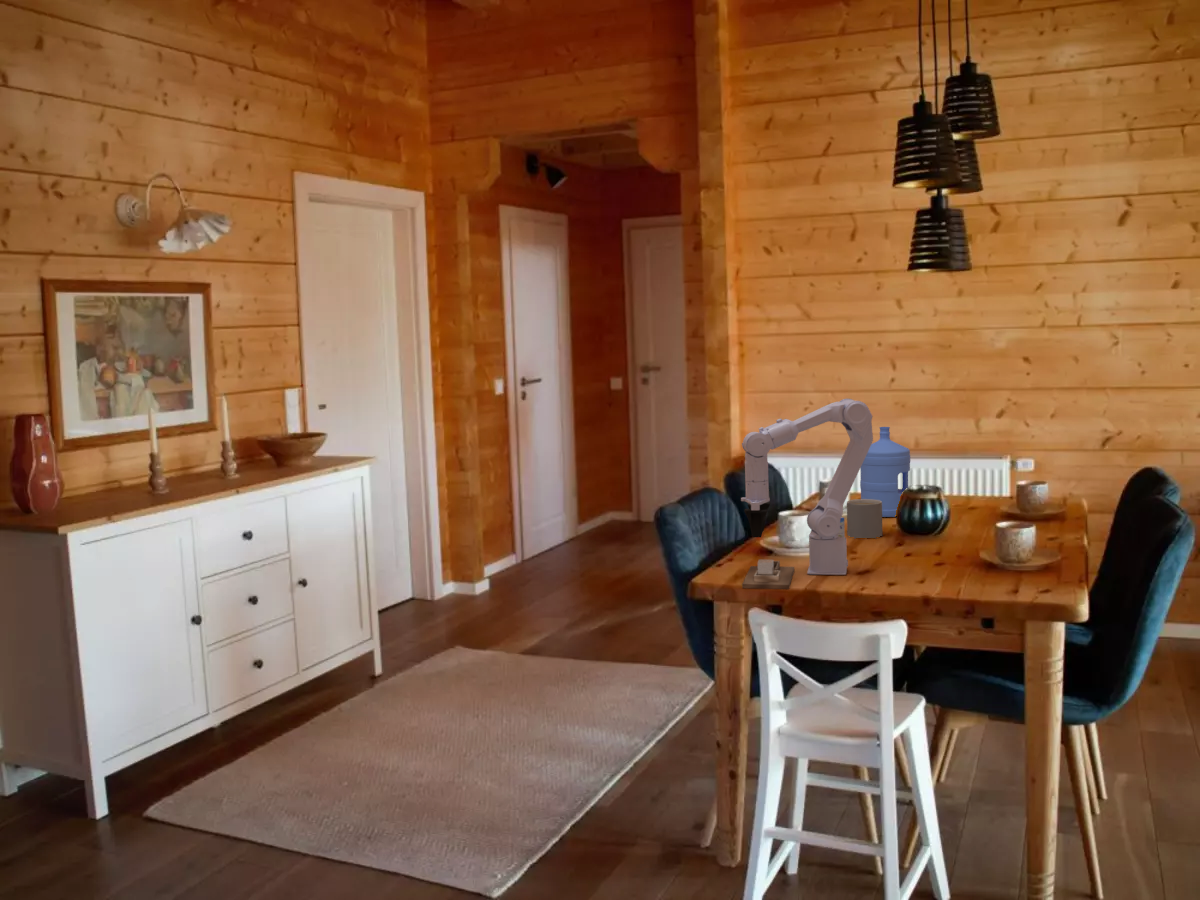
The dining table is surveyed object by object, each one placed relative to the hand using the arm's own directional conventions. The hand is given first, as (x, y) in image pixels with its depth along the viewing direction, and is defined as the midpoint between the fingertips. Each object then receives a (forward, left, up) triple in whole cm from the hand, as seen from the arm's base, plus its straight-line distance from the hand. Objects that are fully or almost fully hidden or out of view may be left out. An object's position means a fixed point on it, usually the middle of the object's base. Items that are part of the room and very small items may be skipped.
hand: (758, 534), depth 285 cm
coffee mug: (-26, -55, -11) cm, 61 cm away
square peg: (-2, +9, -9) cm, 13 cm away
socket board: (-3, +4, -10) cm, 12 cm away
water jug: (-32, -90, -11) cm, 96 cm away
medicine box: (-16, -35, -11) cm, 40 cm away
